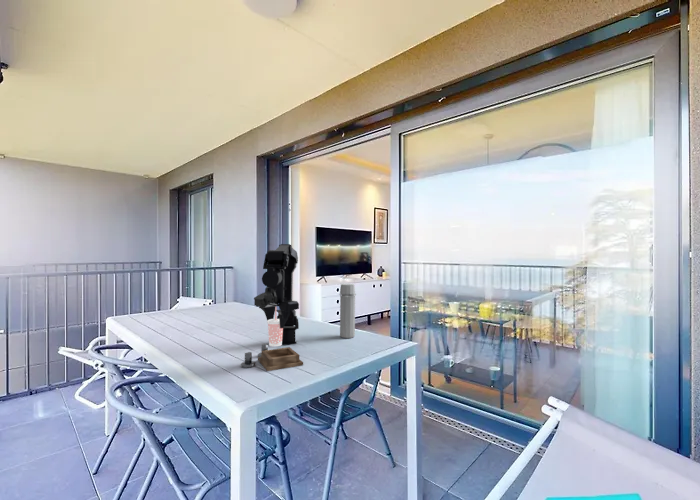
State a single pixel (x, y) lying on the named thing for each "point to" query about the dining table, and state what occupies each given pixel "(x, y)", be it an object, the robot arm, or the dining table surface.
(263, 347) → the knob
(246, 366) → the knob
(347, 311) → the water bottle
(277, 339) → the beverage cup
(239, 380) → the dining table surface
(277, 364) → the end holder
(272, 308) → the robot arm
